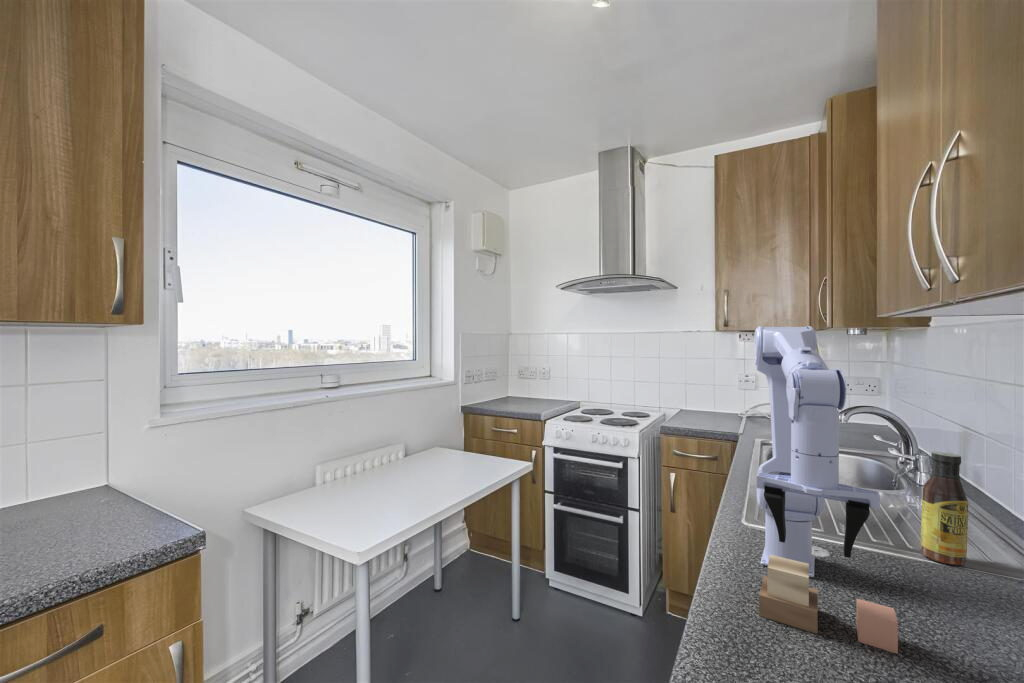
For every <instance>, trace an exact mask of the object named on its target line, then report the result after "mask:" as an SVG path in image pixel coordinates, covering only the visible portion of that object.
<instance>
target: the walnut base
mask: <svg viewBox="0 0 1024 683" xmlns="http://www.w3.org/2000/svg"><path fill="white" fill-rule="evenodd" d="M767 577H768V575H763V578H762V582H761V587H760V590H759V594H758V597H759V598H758V616H759V617H762V618H765V619H768V620H772V621H775V622H778V623H781V624H784V625H788V626H790V627H794V628H797V629H800V630H803V631H806V632H810V633H812V634H816V635H817V634H818V628H819V627H818V625H819V624H818V620H819V619H818V612H819V611H818V607H819V606H818V602H819V600H818V598H819V597H818V595H819V593H818V592H819V589H817V588H813V587H810V586H809V607H807V606H804V605H800V604H797V603H793V602H790V601H786V600H782V599H779V598H775V597H772V596H768V595H767Z"/></svg>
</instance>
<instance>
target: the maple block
mask: <svg viewBox="0 0 1024 683" xmlns="http://www.w3.org/2000/svg"><path fill="white" fill-rule="evenodd" d="M767 576H768V577H767V595H768V596H772V597H775V598H779V599H782V600H786V601H790V602H793V603H797V604H800V605H804V606H807V607H809V587H810V577H809V564H808V563H803V562H799V561H795V560H791V559H786V558H782V557H778V556H774V555H770V556H769V562H768V566H767Z"/></svg>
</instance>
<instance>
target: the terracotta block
mask: <svg viewBox="0 0 1024 683" xmlns="http://www.w3.org/2000/svg"><path fill="white" fill-rule="evenodd" d="M895 611H896V610H895V608H893V607H892V606H891V607H890V606H887V605H883V604H879V603H875V602H872V601H867V600H864V599H860V598H856V633H857V634H856V635H857V642H859V643H862V644H864V645H867V646H872V647H874V648H878V649H881V650H884V651H887V652H891V653H894V654H899V651H898V649H899V621H898V618H897V615H896V612H895Z"/></svg>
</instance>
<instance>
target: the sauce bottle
mask: <svg viewBox="0 0 1024 683" xmlns="http://www.w3.org/2000/svg"><path fill="white" fill-rule="evenodd" d="M930 455H931V456H930V458H931V460H932V467H931V468H932V469H931V477H929V479H928V480H927V481H926V482H925V483H924V484H923V488H922V499H921V519H920V521H921V523H920V524H921V525H920V541H919V542H920V545H921V549H920V551H921V555H923V556H924V557H925V556H926V557H925V558H927V557H928V559H930V560H932V561H934V562H938V563H942V564H946V565H951V566H957V565H958V566H963V565H964V564H965V563H966V561H967V560H966V558H967V553H968V529H969V528H968V526H969V524H968V523H969V521H968V520H969V500H968V498H967V496H966V492H965V491H964V488H963V484H962V482H961V475H960V471H961V470H960V469H961V468H960V466H961V464H962V456H961V455H959V454H954V453H949V452H943V451H932V452H931V454H930ZM962 564H963V565H962Z"/></svg>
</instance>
